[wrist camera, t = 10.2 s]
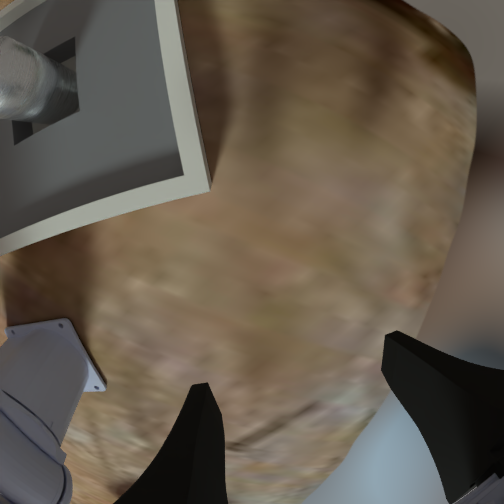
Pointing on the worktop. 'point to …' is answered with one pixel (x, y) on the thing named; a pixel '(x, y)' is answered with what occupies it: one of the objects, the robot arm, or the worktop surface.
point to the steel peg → (34, 85)
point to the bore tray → (101, 118)
